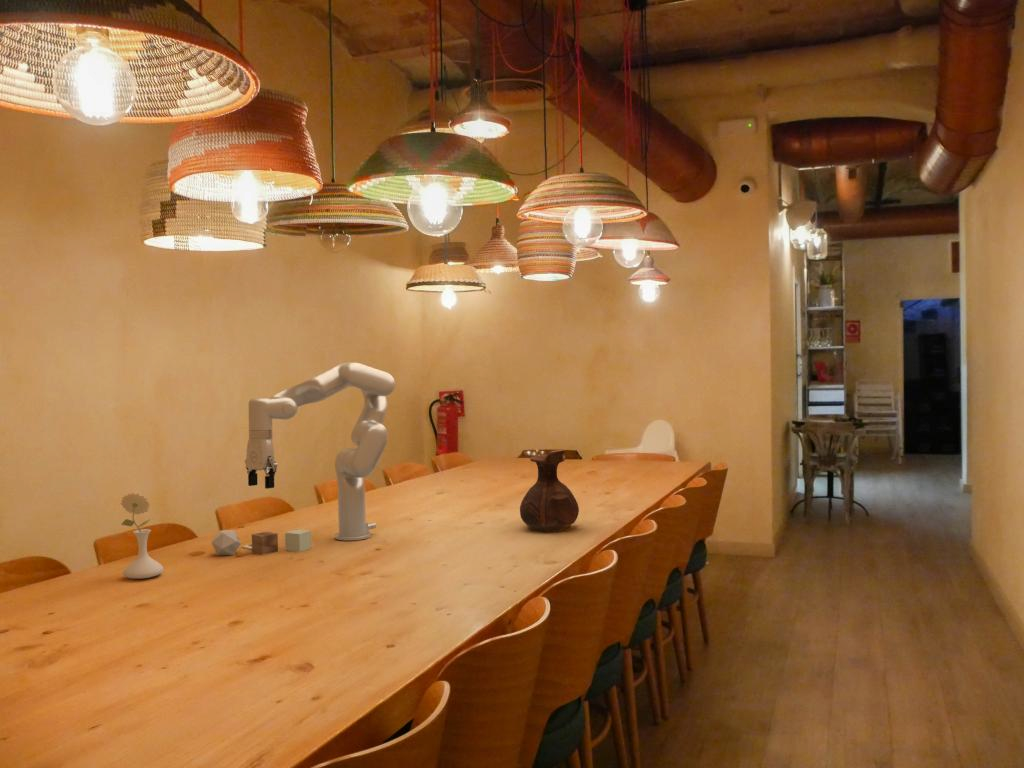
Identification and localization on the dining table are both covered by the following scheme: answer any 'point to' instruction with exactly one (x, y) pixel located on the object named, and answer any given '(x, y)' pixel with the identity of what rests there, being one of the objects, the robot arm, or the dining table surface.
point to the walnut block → (264, 542)
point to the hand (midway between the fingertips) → (261, 486)
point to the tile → (248, 546)
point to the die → (226, 542)
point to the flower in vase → (140, 540)
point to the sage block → (298, 540)
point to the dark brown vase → (549, 497)
